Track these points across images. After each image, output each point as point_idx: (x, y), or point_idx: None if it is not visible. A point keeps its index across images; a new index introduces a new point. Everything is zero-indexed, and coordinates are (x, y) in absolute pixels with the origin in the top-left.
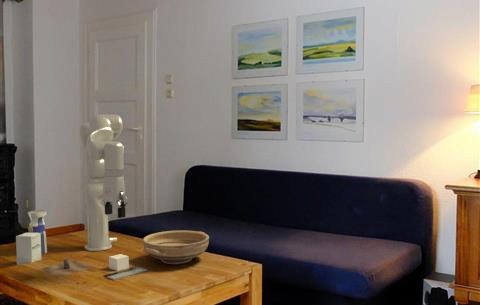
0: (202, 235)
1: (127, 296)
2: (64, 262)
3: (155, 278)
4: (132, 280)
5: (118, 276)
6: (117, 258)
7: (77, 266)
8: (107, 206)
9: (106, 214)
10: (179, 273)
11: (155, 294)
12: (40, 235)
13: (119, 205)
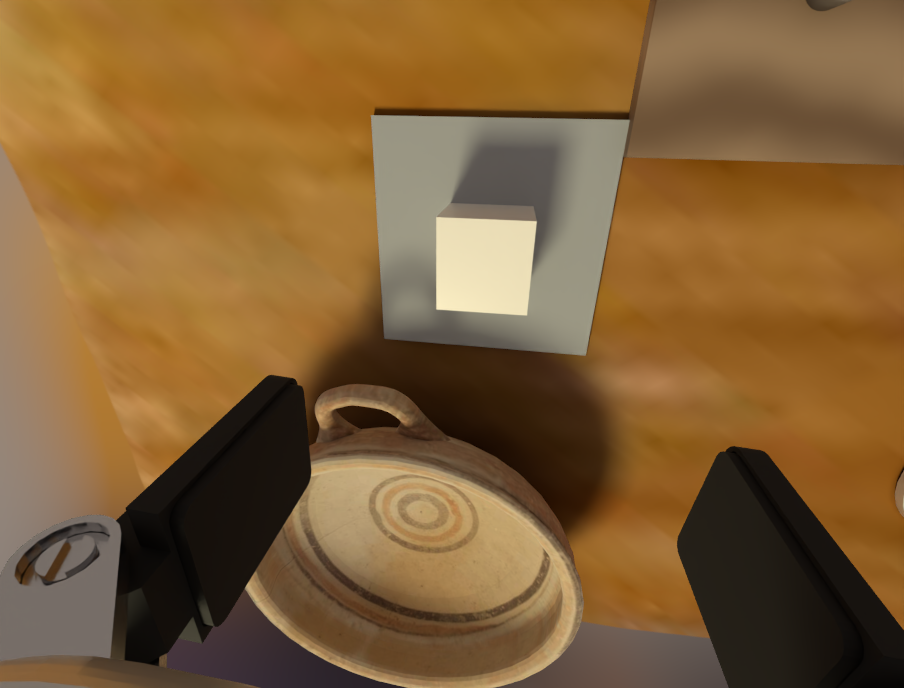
0: (369, 661)
1: None
2: None
3: (258, 278)
4: (302, 185)
5: (391, 165)
6: (449, 231)
7: (771, 79)
8: (800, 636)
9: (720, 454)
10: (257, 383)
11: (44, 112)
12: None
13: (15, 586)
